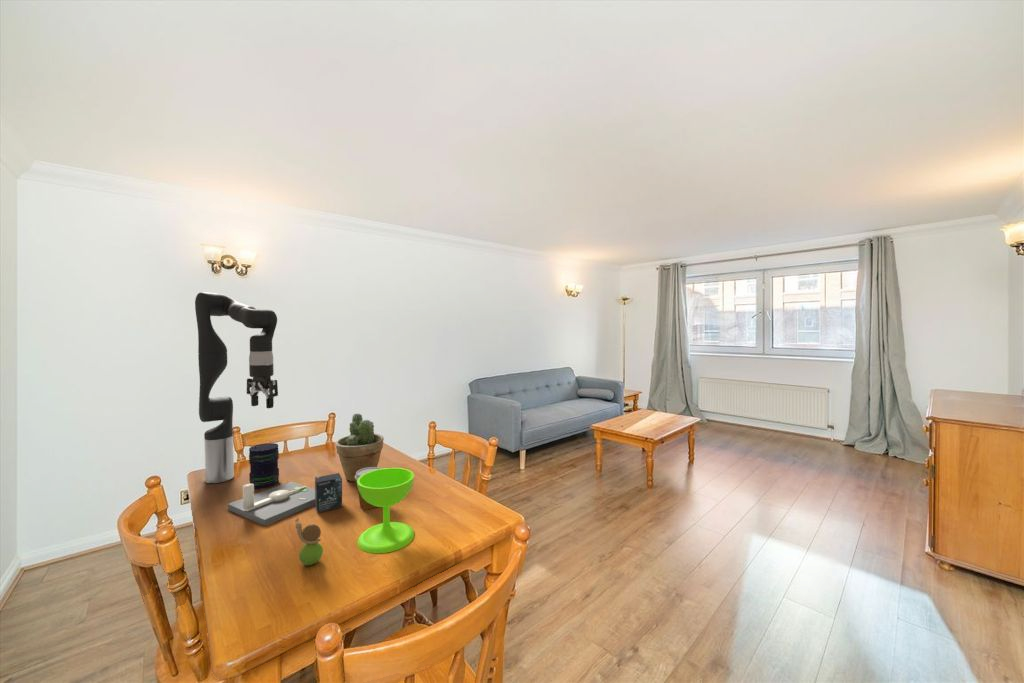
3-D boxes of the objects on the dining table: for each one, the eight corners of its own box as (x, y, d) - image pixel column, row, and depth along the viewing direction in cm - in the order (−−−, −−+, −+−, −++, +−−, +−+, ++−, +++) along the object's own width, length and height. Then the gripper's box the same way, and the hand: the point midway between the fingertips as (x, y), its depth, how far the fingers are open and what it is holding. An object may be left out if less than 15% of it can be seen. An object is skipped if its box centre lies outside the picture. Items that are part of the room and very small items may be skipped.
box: (317, 513, 130) (316, 482, 130) (315, 507, 135) (314, 476, 134) (342, 507, 134) (342, 477, 134) (339, 501, 139) (339, 472, 139)
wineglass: (356, 530, 120) (355, 472, 119) (410, 520, 126) (409, 464, 125) (358, 558, 105) (357, 492, 104) (418, 545, 111) (418, 483, 111)
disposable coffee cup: (390, 502, 138) (389, 468, 138) (369, 514, 130) (369, 478, 129) (369, 497, 142) (369, 464, 142) (348, 508, 134) (348, 473, 133)
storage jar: (282, 478, 160) (281, 442, 159) (275, 487, 150) (275, 449, 150) (253, 481, 157) (253, 444, 156) (245, 491, 147) (244, 451, 147)
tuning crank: (301, 485, 147) (300, 464, 146) (311, 488, 144) (310, 467, 144) (238, 509, 128) (238, 485, 128) (249, 513, 125) (248, 488, 125)
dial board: (227, 509, 132) (227, 503, 132) (291, 486, 152) (291, 480, 151) (264, 526, 122) (264, 519, 122) (328, 499, 141) (327, 492, 141)
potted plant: (393, 474, 165) (392, 415, 164) (354, 489, 149) (354, 424, 148) (365, 465, 174) (364, 410, 173) (326, 479, 159) (325, 418, 158)
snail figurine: (301, 557, 105) (300, 514, 105) (325, 556, 106) (325, 513, 105) (291, 570, 100) (290, 524, 99) (317, 569, 100) (317, 523, 100)
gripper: (238, 363, 144) (239, 407, 145) (264, 365, 138) (264, 410, 139) (259, 361, 151) (260, 403, 152) (284, 363, 145) (284, 406, 146)
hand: (262, 406), depth 145 cm, fingers open, 8 cm apart
